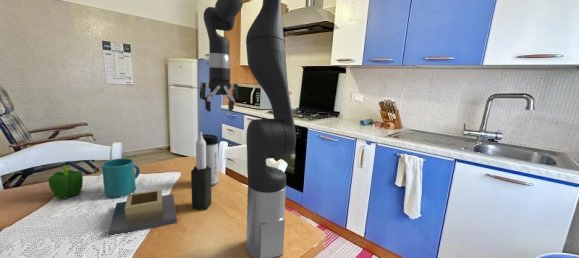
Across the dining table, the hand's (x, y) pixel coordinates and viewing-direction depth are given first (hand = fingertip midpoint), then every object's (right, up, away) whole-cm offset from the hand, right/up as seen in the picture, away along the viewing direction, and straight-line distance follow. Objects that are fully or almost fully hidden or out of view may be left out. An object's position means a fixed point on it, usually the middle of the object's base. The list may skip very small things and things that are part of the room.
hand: (219, 111), depth 92 cm
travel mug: (-6, -29, +5) cm, 30 cm away
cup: (-33, -29, -5) cm, 44 cm away
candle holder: (-17, -33, -19) cm, 41 cm away
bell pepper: (-48, -29, -10) cm, 57 cm away
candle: (-3, -32, -12) cm, 35 cm away
